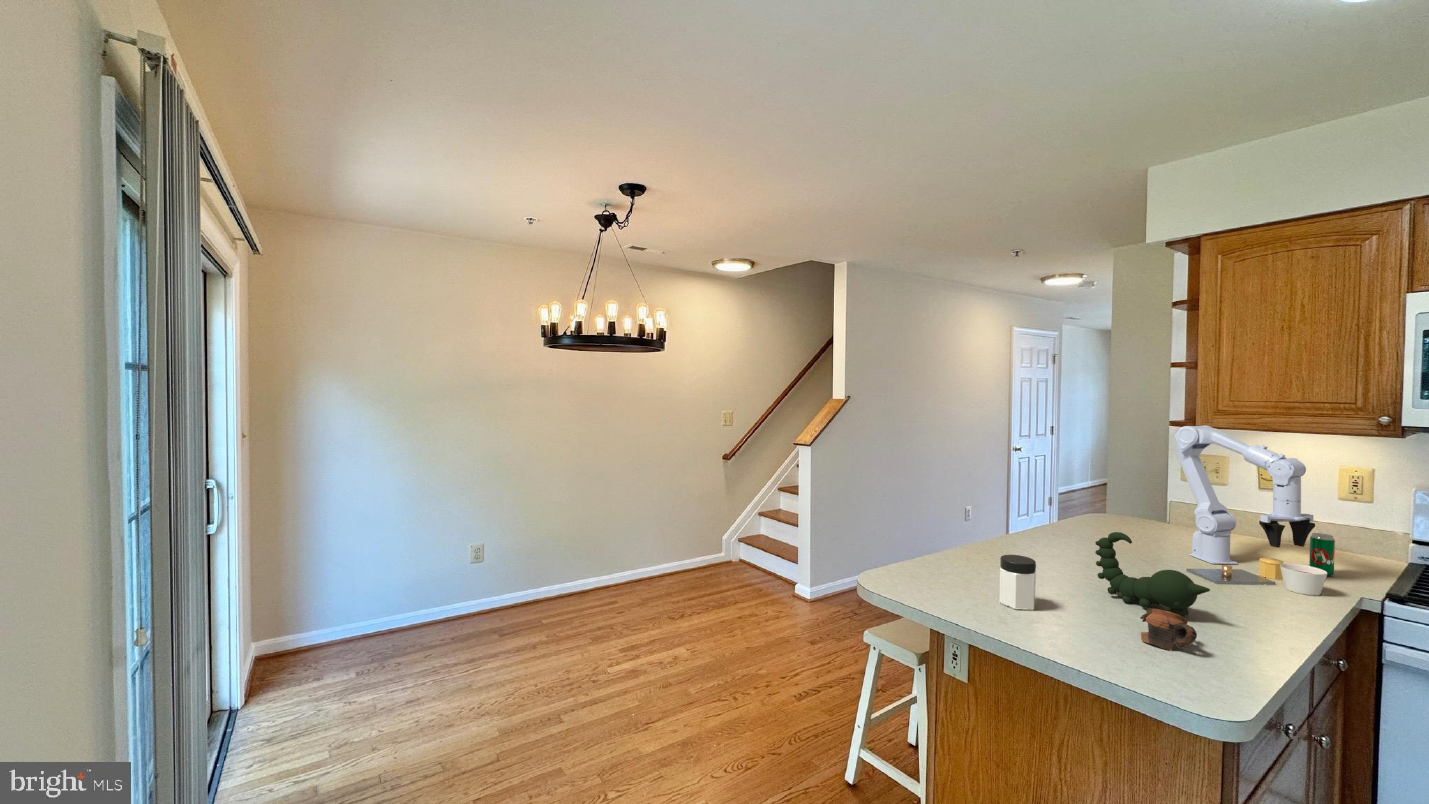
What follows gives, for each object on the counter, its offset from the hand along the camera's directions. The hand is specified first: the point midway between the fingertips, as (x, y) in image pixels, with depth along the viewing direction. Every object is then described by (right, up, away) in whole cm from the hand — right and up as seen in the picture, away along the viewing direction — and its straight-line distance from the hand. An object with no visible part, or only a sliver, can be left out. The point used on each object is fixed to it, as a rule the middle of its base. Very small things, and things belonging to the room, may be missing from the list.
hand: (1286, 546), depth 163 cm
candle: (-5, -10, -9) cm, 15 cm away
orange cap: (-2, -10, +3) cm, 10 cm away
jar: (-88, -11, -17) cm, 91 cm away
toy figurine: (-55, -11, -19) cm, 60 cm away
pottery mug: (-67, -12, -39) cm, 78 cm away
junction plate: (-15, -10, +2) cm, 18 cm away
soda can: (+15, -10, +5) cm, 19 cm away
